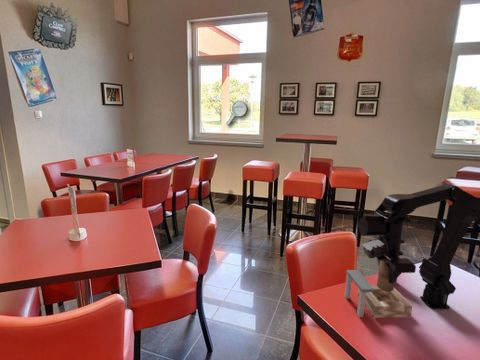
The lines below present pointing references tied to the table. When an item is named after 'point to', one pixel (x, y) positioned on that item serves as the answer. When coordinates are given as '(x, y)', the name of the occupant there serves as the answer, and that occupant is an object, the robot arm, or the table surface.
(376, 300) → the socket block
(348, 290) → the grey arch frame
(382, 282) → the peg
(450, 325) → the table surface
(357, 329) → the table surface
